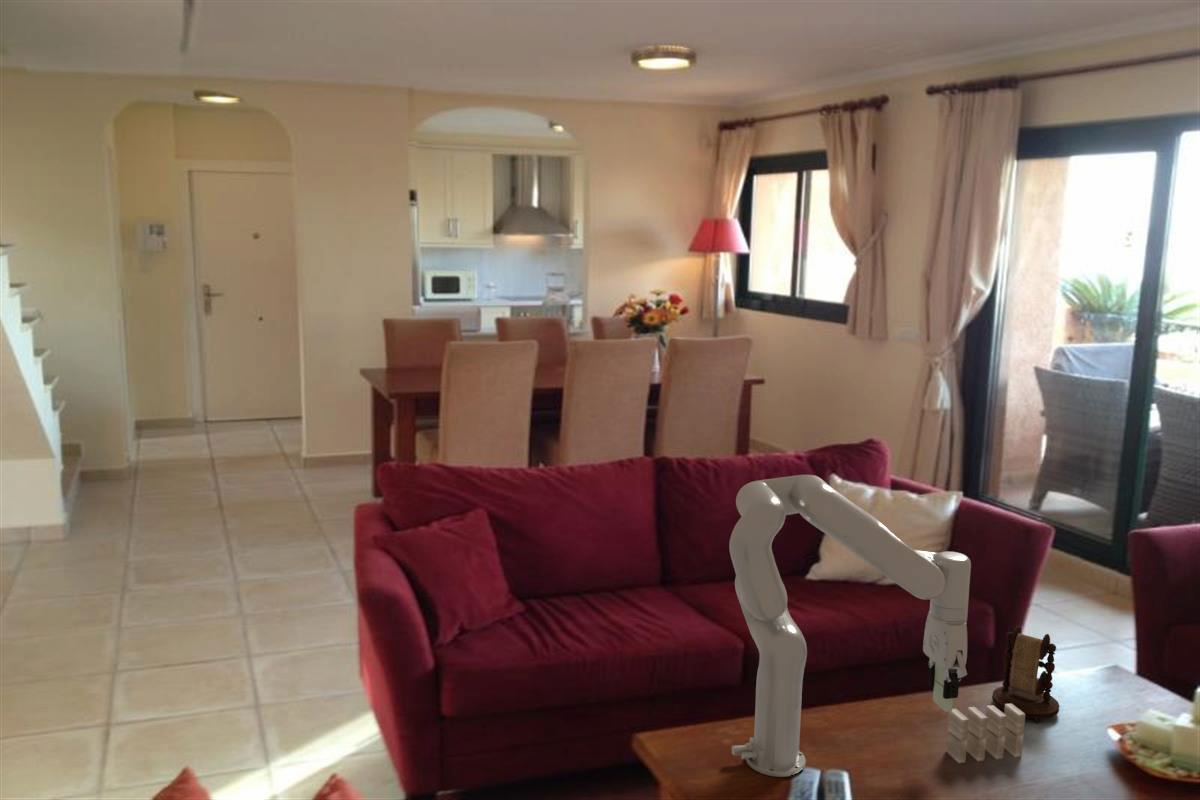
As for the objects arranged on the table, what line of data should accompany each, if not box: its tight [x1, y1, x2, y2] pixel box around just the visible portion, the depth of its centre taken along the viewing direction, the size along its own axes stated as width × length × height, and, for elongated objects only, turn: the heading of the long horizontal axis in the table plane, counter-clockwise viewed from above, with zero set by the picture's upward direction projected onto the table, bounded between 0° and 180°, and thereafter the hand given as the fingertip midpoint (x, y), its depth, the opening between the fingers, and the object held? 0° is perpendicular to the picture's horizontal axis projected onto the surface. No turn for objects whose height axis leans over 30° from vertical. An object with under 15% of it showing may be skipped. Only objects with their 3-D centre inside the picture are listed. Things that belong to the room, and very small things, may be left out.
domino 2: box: [945, 708, 969, 764], centre depth 214 cm, size 2×5×10 cm, turn 12°
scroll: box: [991, 625, 1060, 724], centre depth 236 cm, size 15×15×20 cm
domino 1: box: [932, 663, 955, 713], centre depth 211 cm, size 2×5×10 cm, turn 12°
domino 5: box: [1003, 703, 1026, 758], centre depth 217 cm, size 2×5×10 cm, turn 12°
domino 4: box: [985, 704, 1007, 761], centre depth 216 cm, size 2×5×10 cm, turn 12°
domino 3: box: [966, 706, 988, 762], centre depth 215 cm, size 2×5×10 cm, turn 12°
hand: (943, 690), depth 212 cm, fingers closed on domino 1, 4 cm apart
